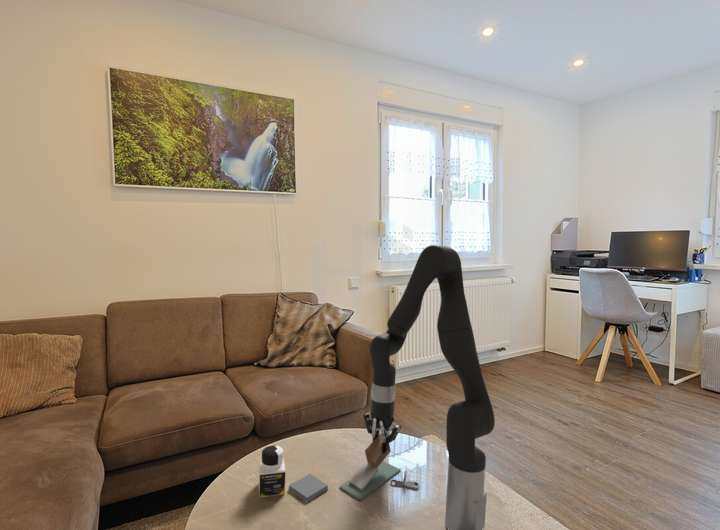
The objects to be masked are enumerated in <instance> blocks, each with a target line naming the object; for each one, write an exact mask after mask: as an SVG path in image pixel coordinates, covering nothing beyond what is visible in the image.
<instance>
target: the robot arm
mask: <svg viewBox="0 0 720 530" xmlns="http://www.w3.org/2000/svg"><path fill="white" fill-rule="evenodd" d="M463 277H464V276H463V269H462V262H461V258H460V255H459V253H458V252H457V251H456V250H455V249H453V248H452V247H449V246H444V245H438V244H430V245H428V246H426V247H424V248H423V249H422V250H421V253H420V255H419V257H418V259H417V260H416V263H415V265H414V268H413V270H412V273H411V276H410V277H409V280H408V282H407V285H406V287H405V288H404V292H403V294H402V296H401V298H400V299H399V301H398V303H397V305H396V307H395V308H394V309H393V310H392V311H393V312H391V315H390V316H389V318H388V320H387V323H386V325H387V330H386V332H385V333H383V334H378V335H376V336H375V337H374V338H372V340H371V342H370V346H369V355H370V360H371V365H372V369H373V371H372V384H371V385H372V386H371V392H370V393H371V394H370V411H369V412H367V413H364V414H363V420H364V423H365V427H366V432H367V434H370V435H371V437H372V442H373V441H374V440H375V439H376V438H377V436H378V435H379V434H380V433H381V435H382V438H383V442H382V443H383V444H382V453H384V454H385V453H386V452H387V451H388V450H389V445H390V444H391V443H392V442H394V441H395V440H396V439H397V436H399V435H398V434H399V433H400V430H401V429H402V425H400V424H397V423H396V422H395V418H394V414H395V405H396V404H395V403H396V375H397V373H396V366H395V365H394V364H393V363H391V362H390V358H391V356H393V355H396V354H397V353H398V352H399V351H401V349H402V347H403V346H404V344H405V341H406V339H407V336H408V332H409V331H410V330H411V329H412V326H413V325H414V324H415V322H416V321H417V319H418V317H419V316H420V313H421V309H422V303H423V300H424V297H425V293H426V291H427V290H428V288H429V287H430V285H431V284H432V283H433V282H434V281H435V280H436V279H437V282H438V286H439V287H438V288H439V293H440V305H439V307H440V308H439V311H438V317H437V323H436V328H437V329H436V330H437V337H438V341H439V347H440V351H441V353H442V356H444V358H445V360H446V361H447V362H448V364H449V365H450V367H451V369H452V370H453V371H454V372H455V373H456V375H457V376H458V378H459V381H460V382H461V383H460V384H461V385H462V389H463V394H464V400H462V401H457V402H455V403H453V404H451V405H450V406H449V408H448V410H447V413H446V421H445V422H446V429H445V430H446V431H445V432H446V438H445V439H446V449H447V453H448V463H447V464H448V465H447V477H446V478H447V480H446V481H447V482H446V496H445V512H444V513H445V514H444V517H445V518H444V525H445V528H446V527H447V528H448V529H449V530H482V529H483V528H484V527H485V528H486V526H485V525H486V512H487V510H486V509H487V493H485V480H486V479H485V478H486V477H485V476H486V464H487V457H486V454H485V453H484V451H483V450H482V449H480V448H479V447H477V446H476V439H478V438H482V437H485V436H487V435H490V434H491V433H492V432H493V430H494V428H495V424H496V423H495V419H496V418H495V413H494V409H493V405H492V402H491V399H490V396H489V393H488V390H487V386H486V384H485V381H484V376H483V372H482V368H481V365H480V360H479V356H478V351H477V345H476V340H475V336H474V329H473V326H472V323H471V319H470V314H469V308H468V304H467V298H466V294H465V289H464V287H465V286H464V278H463ZM447 528H446V529H447ZM485 528H484V529H485ZM448 529H447V530H448Z"/></svg>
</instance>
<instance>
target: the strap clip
mask: <svg viewBox="0 0 720 530" xmlns="http://www.w3.org/2000/svg"><path fill="white" fill-rule="evenodd" d="M406 480H407V470H405V471H403V480H397V479H391V480H390V486H391V487H394V488H405V489H409V490H414V491H418V490H419V489H420V484H419V482H417V481H414V480H413V481H412V480H407V481H406ZM393 482H394V484H393Z"/></svg>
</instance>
